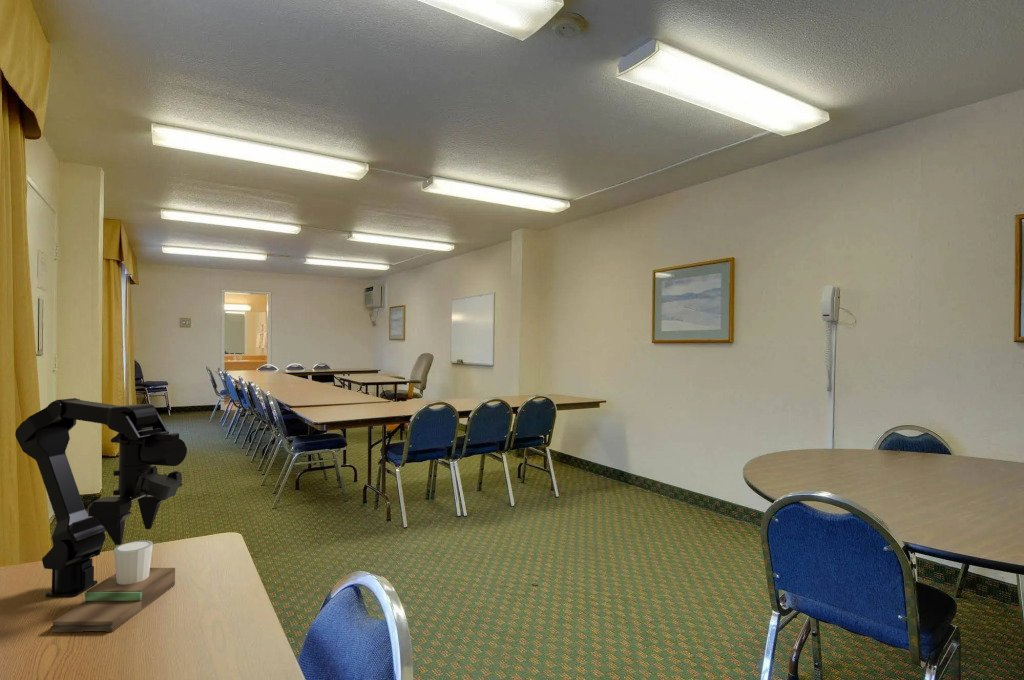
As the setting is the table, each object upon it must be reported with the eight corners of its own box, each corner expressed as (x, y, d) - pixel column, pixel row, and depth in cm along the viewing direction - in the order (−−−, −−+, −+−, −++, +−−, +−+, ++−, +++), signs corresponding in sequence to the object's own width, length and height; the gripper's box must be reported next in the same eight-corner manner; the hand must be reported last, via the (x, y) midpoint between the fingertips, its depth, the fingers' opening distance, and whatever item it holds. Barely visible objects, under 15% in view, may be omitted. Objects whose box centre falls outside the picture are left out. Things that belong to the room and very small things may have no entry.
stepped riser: (50, 633, 97) (51, 611, 97) (124, 585, 116) (125, 567, 116) (110, 633, 97) (111, 611, 97) (174, 585, 117) (175, 567, 117)
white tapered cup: (160, 574, 113) (160, 542, 113) (128, 588, 107) (128, 554, 107) (137, 569, 116) (138, 538, 116) (104, 582, 109) (105, 549, 109)
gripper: (144, 474, 102) (142, 553, 102) (198, 454, 121) (197, 521, 121) (86, 474, 102) (84, 554, 102) (149, 454, 121) (148, 521, 120)
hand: (134, 536), depth 111 cm, fingers open, 9 cm apart
